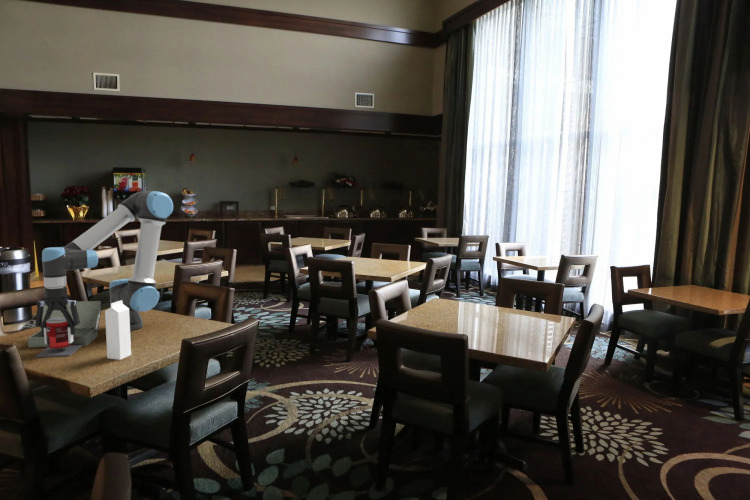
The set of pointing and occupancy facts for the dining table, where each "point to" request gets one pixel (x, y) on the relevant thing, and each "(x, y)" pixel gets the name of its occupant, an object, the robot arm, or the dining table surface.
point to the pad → (59, 351)
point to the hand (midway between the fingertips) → (59, 342)
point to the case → (83, 331)
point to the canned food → (57, 332)
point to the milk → (118, 331)
